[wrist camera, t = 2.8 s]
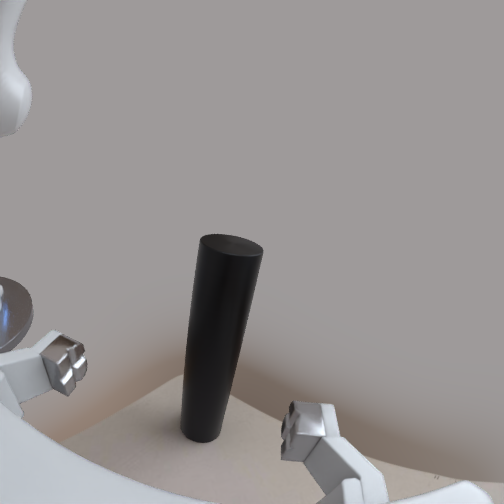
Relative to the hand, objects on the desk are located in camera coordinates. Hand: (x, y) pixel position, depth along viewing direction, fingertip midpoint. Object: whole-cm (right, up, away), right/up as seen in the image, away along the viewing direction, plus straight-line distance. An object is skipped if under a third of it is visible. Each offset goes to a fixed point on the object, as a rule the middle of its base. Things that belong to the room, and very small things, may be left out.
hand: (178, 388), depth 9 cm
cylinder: (-3, -15, +18) cm, 23 cm away
